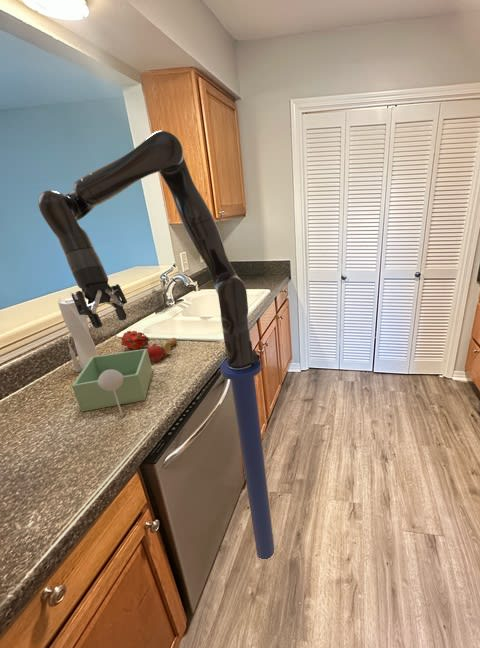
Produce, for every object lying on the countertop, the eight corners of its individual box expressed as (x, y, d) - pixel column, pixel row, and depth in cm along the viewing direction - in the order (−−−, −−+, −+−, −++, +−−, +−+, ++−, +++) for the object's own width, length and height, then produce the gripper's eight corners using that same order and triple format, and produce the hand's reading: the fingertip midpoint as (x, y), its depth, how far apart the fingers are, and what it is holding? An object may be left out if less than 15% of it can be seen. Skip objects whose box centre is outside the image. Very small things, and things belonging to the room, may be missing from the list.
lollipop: (133, 407, 97) (120, 363, 91) (134, 418, 92) (120, 372, 86) (110, 414, 94) (95, 369, 88) (110, 425, 89) (94, 378, 83)
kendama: (164, 346, 140) (140, 361, 123) (165, 333, 138) (140, 345, 121) (181, 350, 139) (159, 364, 122) (182, 336, 137) (160, 349, 120)
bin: (152, 370, 118) (147, 348, 114) (144, 400, 100) (137, 374, 97) (99, 379, 113) (91, 356, 110) (81, 411, 96) (71, 385, 92)
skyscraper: (81, 363, 126) (57, 293, 115) (104, 359, 128) (82, 290, 117) (75, 373, 119) (48, 299, 108) (100, 368, 121) (76, 296, 110)
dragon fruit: (124, 350, 139) (151, 354, 138) (112, 346, 131) (141, 351, 130) (129, 331, 141) (156, 335, 140) (118, 326, 132) (146, 330, 132)
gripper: (72, 266, 81) (100, 327, 84) (117, 262, 94) (139, 314, 97) (53, 275, 83) (80, 333, 87) (99, 269, 96) (121, 320, 100)
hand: (111, 323), depth 92 cm, fingers open, 8 cm apart
